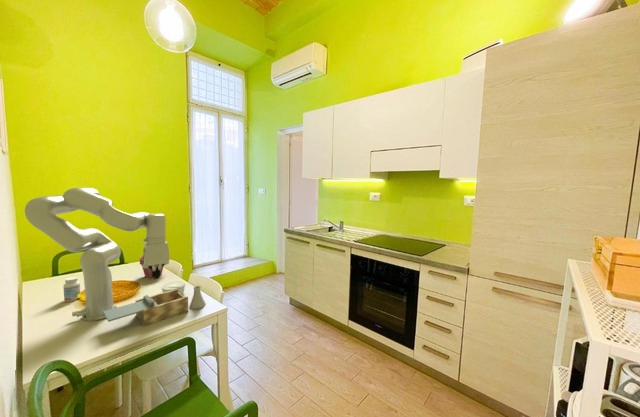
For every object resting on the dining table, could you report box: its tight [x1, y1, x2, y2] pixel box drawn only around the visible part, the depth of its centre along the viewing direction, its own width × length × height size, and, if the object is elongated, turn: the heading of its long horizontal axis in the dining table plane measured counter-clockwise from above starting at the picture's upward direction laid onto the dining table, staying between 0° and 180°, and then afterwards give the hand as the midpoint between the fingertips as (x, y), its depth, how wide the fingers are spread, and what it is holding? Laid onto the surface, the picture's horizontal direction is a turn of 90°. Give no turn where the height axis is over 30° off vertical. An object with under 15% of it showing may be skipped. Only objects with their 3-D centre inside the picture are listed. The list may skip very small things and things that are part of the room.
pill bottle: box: [62, 276, 81, 303], centre depth 132 cm, size 6×6×11 cm
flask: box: [188, 285, 207, 310], centre depth 129 cm, size 7×7×10 cm
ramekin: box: [161, 281, 186, 295], centre depth 141 cm, size 11×11×5 cm
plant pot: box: [139, 255, 164, 279], centre depth 167 cm, size 14×14×13 cm
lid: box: [103, 294, 158, 323], centre depth 112 cm, size 18×10×3 cm, turn 138°
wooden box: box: [135, 289, 189, 327], centre depth 121 cm, size 18×13×7 cm
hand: (156, 277), depth 122 cm, fingers closed
